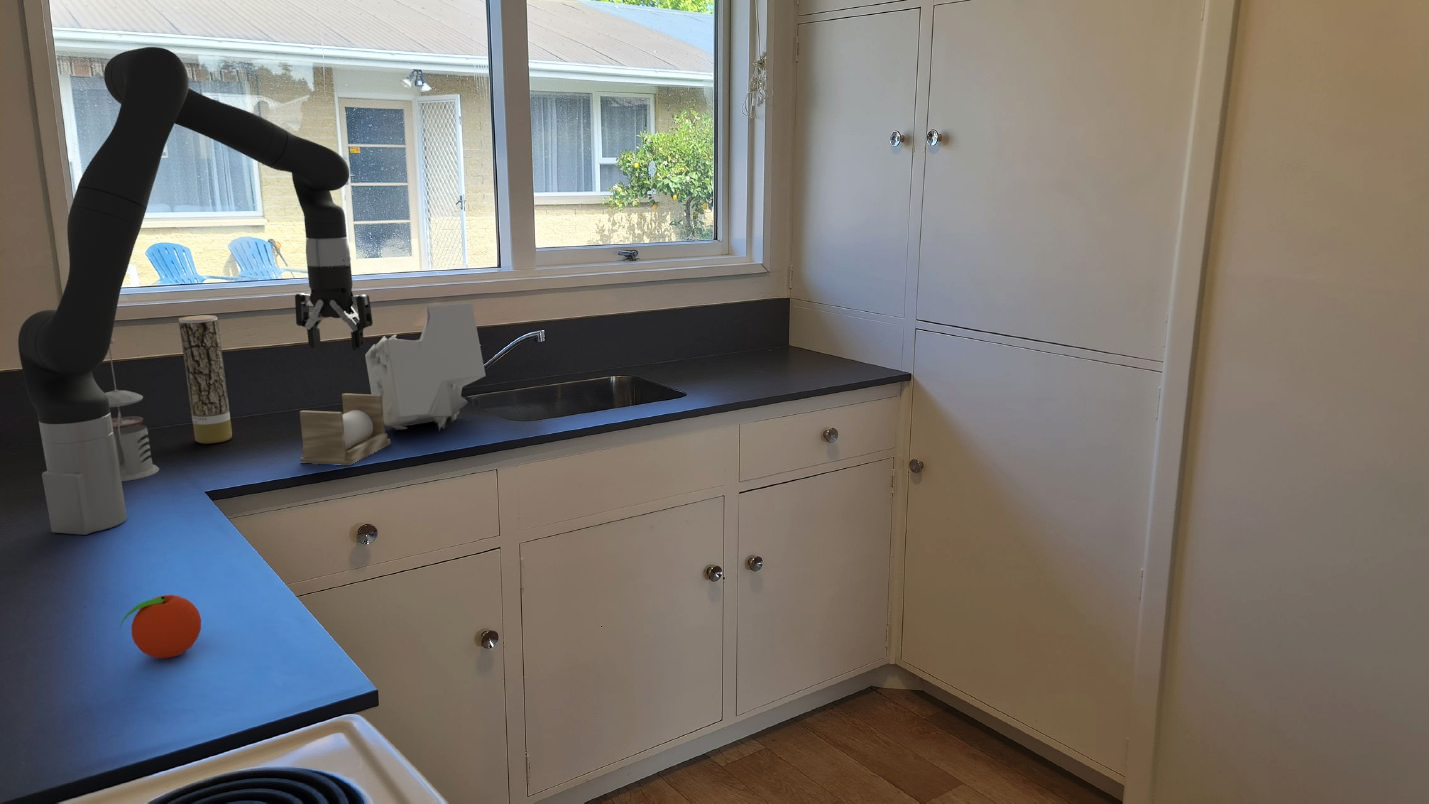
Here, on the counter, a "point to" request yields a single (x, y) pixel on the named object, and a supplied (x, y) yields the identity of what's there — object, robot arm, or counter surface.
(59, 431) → the robot arm
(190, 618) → the clementine
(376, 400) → the holder
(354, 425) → the roll
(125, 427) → the french press
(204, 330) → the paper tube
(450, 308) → the white jagged block
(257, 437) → the counter surface
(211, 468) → the counter surface
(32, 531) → the counter surface
